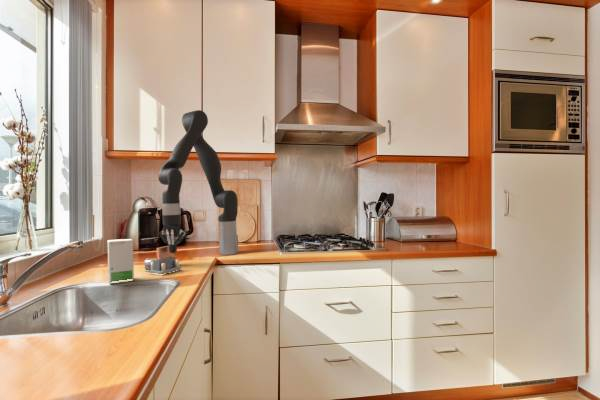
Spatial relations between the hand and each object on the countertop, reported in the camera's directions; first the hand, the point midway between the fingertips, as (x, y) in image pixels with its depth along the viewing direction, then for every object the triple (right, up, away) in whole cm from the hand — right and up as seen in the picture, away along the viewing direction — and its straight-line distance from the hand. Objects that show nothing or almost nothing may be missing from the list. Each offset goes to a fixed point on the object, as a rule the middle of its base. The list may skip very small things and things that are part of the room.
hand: (173, 252), depth 152 cm
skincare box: (-10, -7, -24) cm, 27 cm away
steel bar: (+1, -5, -11) cm, 12 cm away
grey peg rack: (-5, -4, -2) cm, 7 cm away
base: (-7, -6, -5) cm, 11 cm away
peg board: (+1, -6, -11) cm, 12 cm away
